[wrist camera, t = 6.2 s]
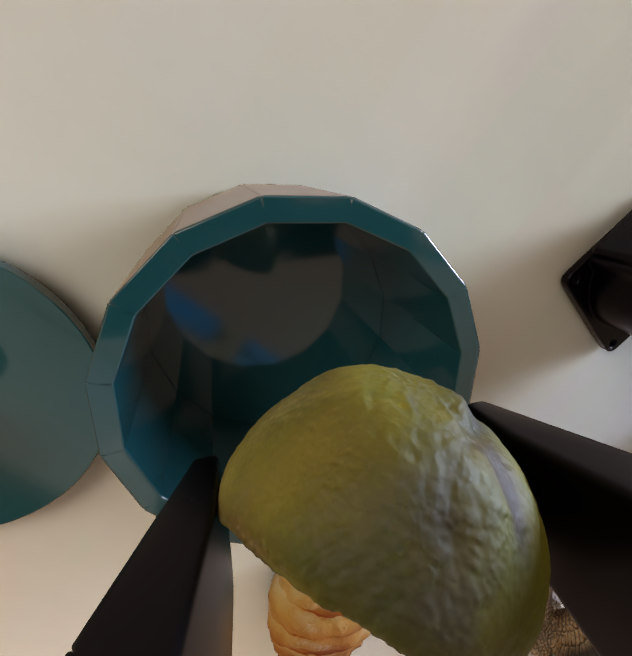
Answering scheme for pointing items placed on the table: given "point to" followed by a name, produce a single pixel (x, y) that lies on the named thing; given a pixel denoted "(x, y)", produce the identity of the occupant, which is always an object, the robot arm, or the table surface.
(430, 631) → the lime
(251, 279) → the pot
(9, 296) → the lid
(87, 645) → the robot arm
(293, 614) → the pastry
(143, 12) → the table surface
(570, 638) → the eagle figurine
